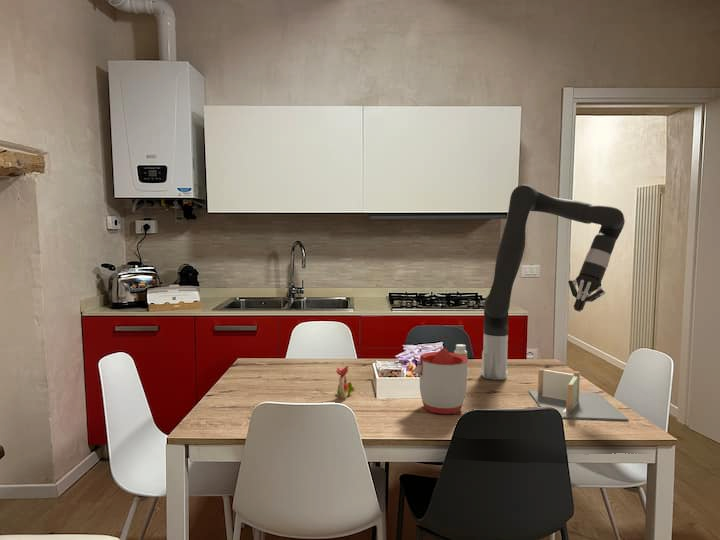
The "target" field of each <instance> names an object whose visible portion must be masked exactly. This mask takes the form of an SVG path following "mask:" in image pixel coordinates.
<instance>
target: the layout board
mask: <svg viewBox="0 0 720 540" xmlns="http://www.w3.org/2000/svg"><path fill="white" fill-rule="evenodd" d="M528 393H529V395H530V396H531V398H534V399H535V400H534V399H533V400H534V401H535V402H537V403H538V404H539V405H540V407H544V406H548V407H554V408H556V409H558V410H559V411H560V413H561V414H562V417H563V419H564V418H571V419H570V420H587V419H596V420H595V421H614V422H615V421H616V422H619V421H621V422H622V421H623V422H629V421H630V420H629V418H628V417H627V416H626V415H625V414H624V413H622V412H621V411H620V410H618V408H616V407H615V406H614V405H613V404H612V403H610V402H609V401H608V400H607V399H606V398H605V397H603V395H602V394H600V393H598V392H584V391H583V392H581V391H579V402H576V404H575V406H574V408H573V412H567V411H566V400H564V399H559V398H553V397H548V396H543V395H538V390H528ZM537 403H536V404H537ZM538 404H537V405H538ZM539 405H538V406H539ZM540 407H539V408H540Z"/></svg>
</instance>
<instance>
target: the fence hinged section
mask: <svg viewBox="0 0 720 540" xmlns="http://www.w3.org/2000/svg"><path fill="white" fill-rule="evenodd" d="M577 386H578V376H574V377H573V378H572V380H571V381H570V383H569V384H567V397H566V411H567V412H573V408H574V406H575V404H576V402H577Z"/></svg>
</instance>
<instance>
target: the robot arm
mask: <svg viewBox="0 0 720 540" xmlns="http://www.w3.org/2000/svg"><path fill="white" fill-rule="evenodd" d="M511 192H512V193H511V194H510V199H509V204H508V212H507V217H506V222H505V225H504V229H503V233H502V236H501V239H500V243H499V246H498V251H497V255H496V258H495V267H494V275H493V282H492V284H491V287H490V291H489V294H488V295H487V296H486V297H485V299H484V305H483V306H484V307H483V346H482V347H483V348H482V349H483V350H482V351H481V376H482V377H483V379H488V380H493V381H494V380H495V381H501V380H503V381H504V380H506V379H507V375H508V347H509V345H508V341H509V310H510V303H511V296H512V292H513V291H512V290H513V286H514V283H515V281H516V277H517V275H518V273H519V269H520V265H521V263H522V259H523V256H524V252H525V249H526V248H525V247H526V225H527V221H528V219H529V217H528V216H529V214H530V212H538V213H544V214H545V213H546V214H551V215H554V216H558V217H561V218H564V219H566V220H570V221H574V222H578V223H582V224H587V225H589V224H596V225H600V227H599V231H598V233H597V234H595V236H594V238H593V240H592V242H591V244H590V248H589V249H588V252H587V254H586V256H585V258H584V260H583V264H582V266H581V269H580V271H579V274H578V275H577V277H576V278H575V279H573V280H571V279H569V280H568V282H567V283H568V285H569V289H570V291H571V294H572V296H573V297H574V298H576V299H575V301H574V304H573V310H575V311H576V312H581V311H583V310H584V308H585V305H586V303H587V302H590V303H592V302H594V301H595V300H597V299H599V298H601V297H602V296H604V295H605V294H606V291H605V290H604V289H603V288H602V281H603V279H604V276H605V272H606V271H607V268H608V267H609V263H610V259H611V256H612V253H613V250H614V248H615V244H616V242H617V240H618V239H619V237H620V235H621V232H622V231H623V228H624V227H625V222H626V221H625V216H624V213H623V212H622V210H620V209H619V208H618V207H617V208H616V207H614V206H609V205H598V204H597V205H595V204H592V203H588V202H584V201H579V200H573V199H567V198H559V197H555V196H551V195H548V194H545V193H544V192H541V191H538V190H536V189H535V188H534V187H532V186H530V185H528V184H521V185H518V186H516V187H515V188H514V189H513V190H512V191H511ZM576 286H577V287H576ZM577 288H578V289H577ZM592 293H593V294H592Z"/></svg>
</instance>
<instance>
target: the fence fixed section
mask: <svg viewBox="0 0 720 540" xmlns="http://www.w3.org/2000/svg"><path fill="white" fill-rule="evenodd" d="M537 375H538V377H537V378H538V379H537V391H538V395H543V396H548V397H553V398H559V399H564V400H566V397H567V384H569V383H570V381H571V380H572V378H573V377H574V376H578V386H577V402H579V392H580V383H581V382H580V377H581V372H580V371H577V370H576V371H573V373H569V372H561V371H556V370H555V371H554V370H549V369H544V368H538V374H537Z"/></svg>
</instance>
